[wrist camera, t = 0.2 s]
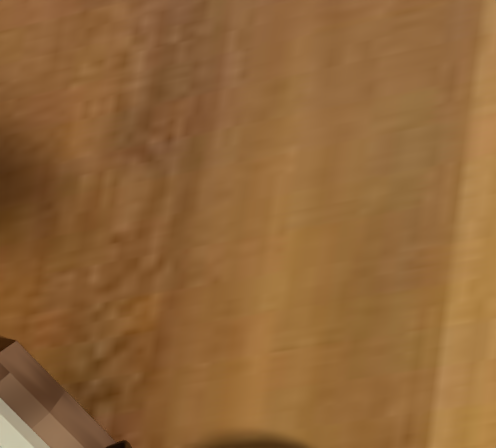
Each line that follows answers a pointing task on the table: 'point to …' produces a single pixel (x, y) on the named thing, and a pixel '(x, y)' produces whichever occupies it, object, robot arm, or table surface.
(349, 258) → the table surface
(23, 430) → the cover
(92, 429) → the sliding lid box
